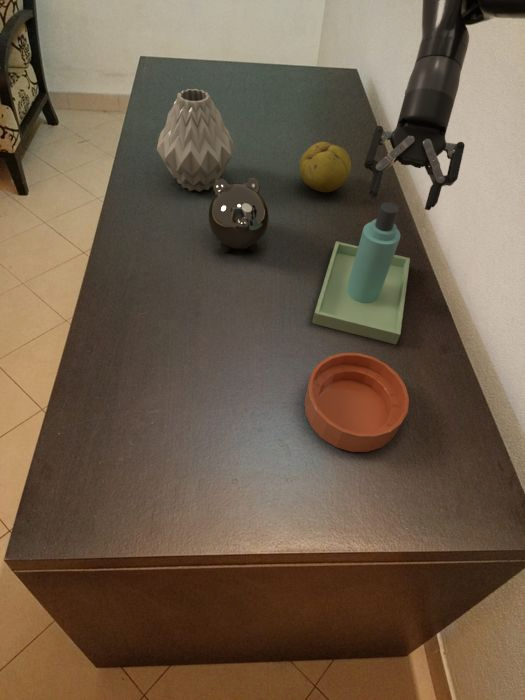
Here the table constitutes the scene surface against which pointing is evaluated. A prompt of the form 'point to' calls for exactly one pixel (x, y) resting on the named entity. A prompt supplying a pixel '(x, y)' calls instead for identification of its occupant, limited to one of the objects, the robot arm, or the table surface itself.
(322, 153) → the fruit
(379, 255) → the bottle
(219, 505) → the table surface
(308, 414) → the bowl
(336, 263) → the tray
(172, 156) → the vase
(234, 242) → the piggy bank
